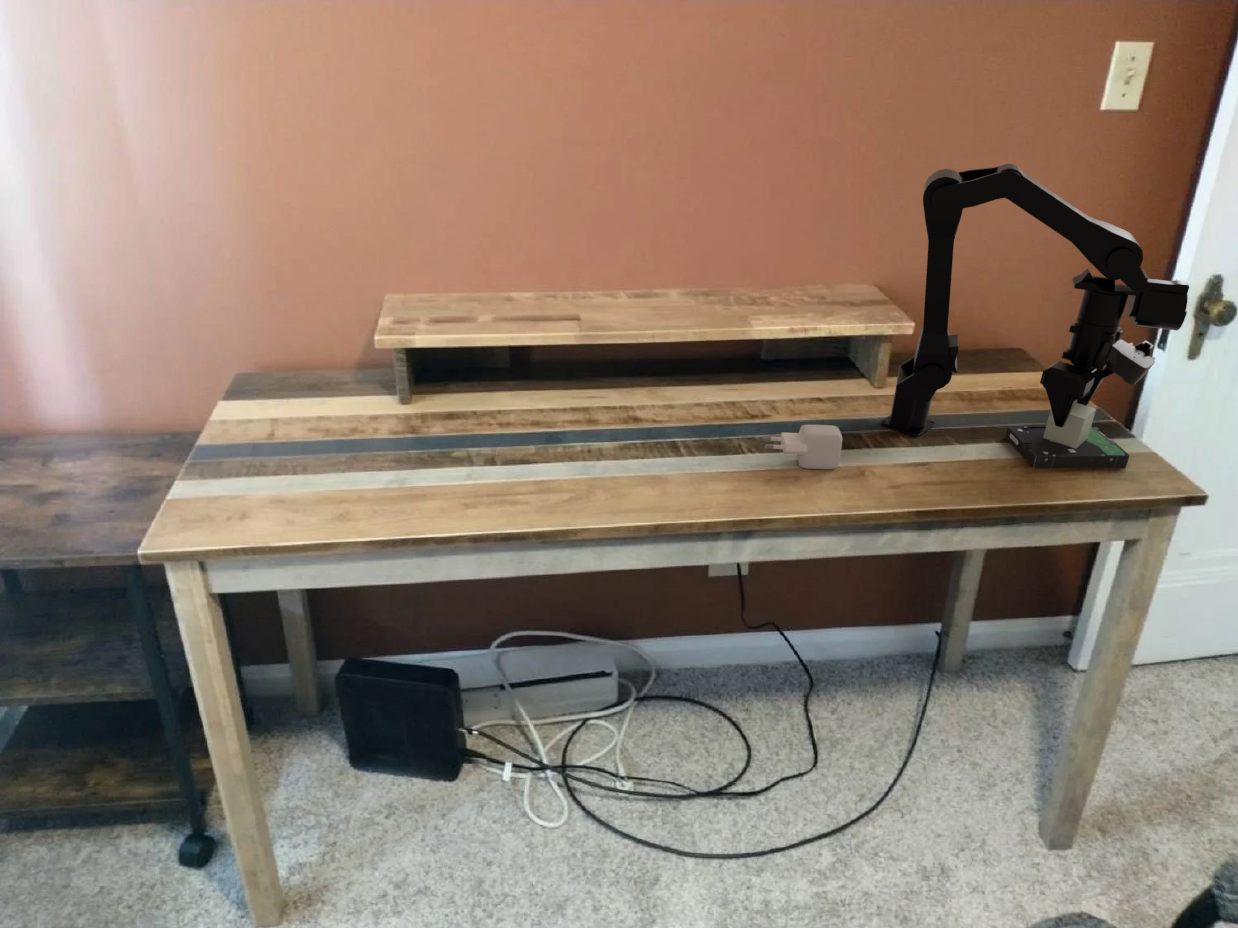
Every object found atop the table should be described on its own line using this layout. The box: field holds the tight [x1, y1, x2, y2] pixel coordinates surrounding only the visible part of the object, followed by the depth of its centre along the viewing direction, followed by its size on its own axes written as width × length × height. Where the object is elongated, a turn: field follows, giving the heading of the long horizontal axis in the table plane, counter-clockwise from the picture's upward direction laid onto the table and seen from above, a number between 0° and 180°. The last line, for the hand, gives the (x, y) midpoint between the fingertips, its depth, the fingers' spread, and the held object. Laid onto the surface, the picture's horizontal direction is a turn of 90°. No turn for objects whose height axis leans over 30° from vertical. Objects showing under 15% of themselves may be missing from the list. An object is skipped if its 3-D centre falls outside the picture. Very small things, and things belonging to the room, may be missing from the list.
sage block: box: [1043, 402, 1097, 449], centre depth 148 cm, size 5×5×5 cm
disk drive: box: [1004, 425, 1130, 469], centre depth 149 cm, size 10×3×15 cm
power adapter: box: [761, 424, 843, 470], centre depth 142 cm, size 11×5×6 cm, turn 90°
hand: (1070, 417), depth 148 cm, fingers open, 9 cm apart
